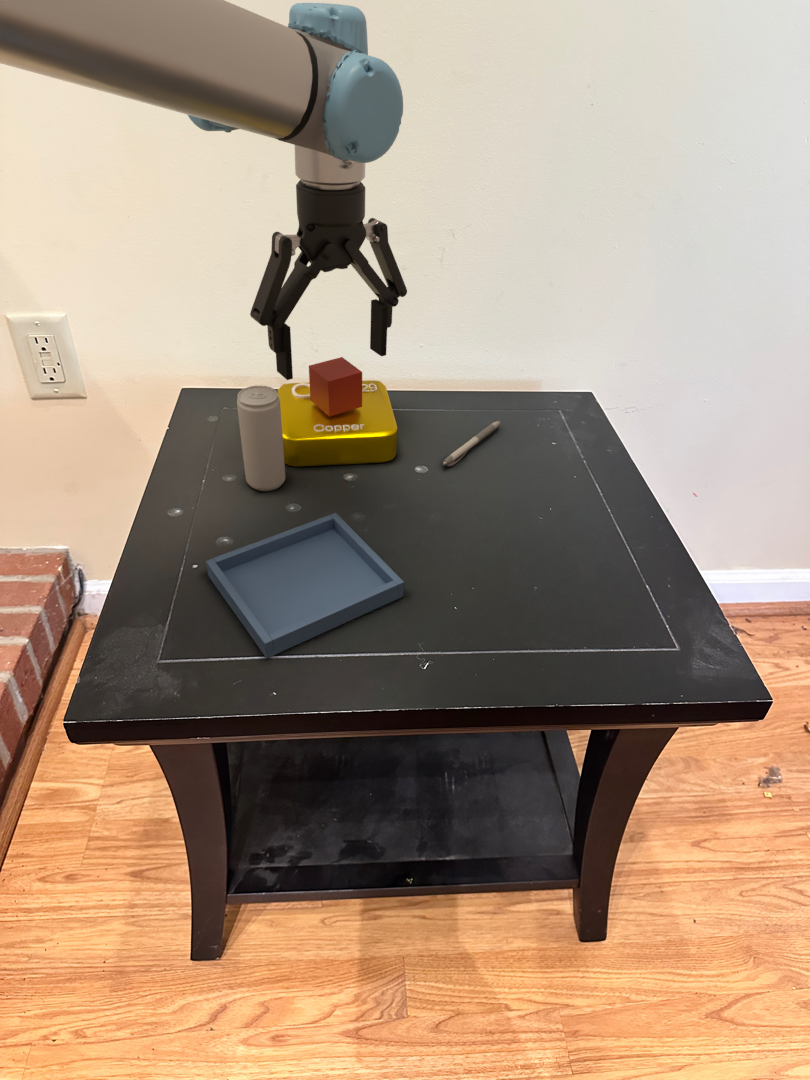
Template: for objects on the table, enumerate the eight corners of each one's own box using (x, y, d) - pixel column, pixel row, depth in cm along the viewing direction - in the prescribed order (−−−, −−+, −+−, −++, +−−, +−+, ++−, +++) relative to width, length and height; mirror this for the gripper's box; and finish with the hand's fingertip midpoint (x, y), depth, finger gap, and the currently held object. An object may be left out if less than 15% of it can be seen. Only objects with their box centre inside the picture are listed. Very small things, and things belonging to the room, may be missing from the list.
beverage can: (282, 494, 88) (276, 406, 80) (243, 492, 88) (232, 404, 80) (288, 471, 92) (282, 385, 84) (249, 470, 92) (240, 383, 84)
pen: (439, 468, 94) (440, 459, 93) (495, 426, 103) (497, 417, 102) (446, 471, 93) (447, 462, 92) (501, 428, 102) (503, 419, 101)
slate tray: (266, 658, 68) (264, 643, 67) (208, 575, 77) (205, 560, 75) (403, 596, 75) (404, 581, 74) (336, 526, 84) (335, 512, 82)
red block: (329, 416, 93) (328, 381, 90) (310, 400, 96) (308, 365, 93) (362, 406, 96) (362, 371, 92) (342, 391, 99) (342, 356, 96)
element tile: (281, 468, 92) (279, 436, 89) (279, 409, 104) (276, 379, 101) (398, 462, 94) (400, 430, 91) (383, 405, 106) (384, 375, 103)
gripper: (238, 202, 71) (255, 398, 84) (443, 178, 82) (429, 353, 96) (207, 183, 75) (228, 372, 89) (405, 163, 87) (397, 333, 100)
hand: (333, 363), depth 92 cm, fingers open, 13 cm apart
